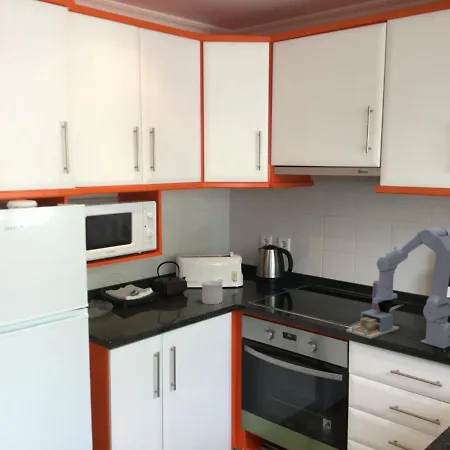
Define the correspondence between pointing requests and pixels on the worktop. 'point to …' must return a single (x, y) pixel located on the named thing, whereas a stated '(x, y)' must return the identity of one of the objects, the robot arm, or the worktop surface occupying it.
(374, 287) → the beverage can
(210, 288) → the cup
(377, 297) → the robot arm
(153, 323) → the worktop surface
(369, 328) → the birch block
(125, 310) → the worktop surface
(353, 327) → the base plate
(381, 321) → the housing
